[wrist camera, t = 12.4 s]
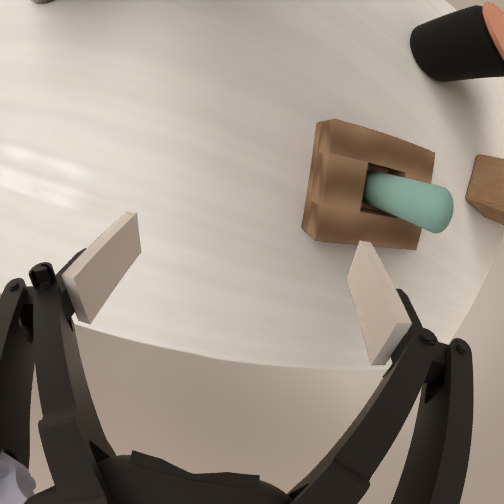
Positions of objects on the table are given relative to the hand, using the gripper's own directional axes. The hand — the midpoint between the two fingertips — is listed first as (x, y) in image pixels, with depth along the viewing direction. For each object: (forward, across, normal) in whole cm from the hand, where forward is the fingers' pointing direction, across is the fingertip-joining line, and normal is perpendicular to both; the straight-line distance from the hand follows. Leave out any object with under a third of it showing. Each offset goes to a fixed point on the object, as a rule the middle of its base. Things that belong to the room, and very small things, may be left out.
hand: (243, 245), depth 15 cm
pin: (+21, +14, -1) cm, 25 cm away
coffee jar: (+30, +25, +24) cm, 46 cm away
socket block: (+22, +14, -1) cm, 26 cm away
